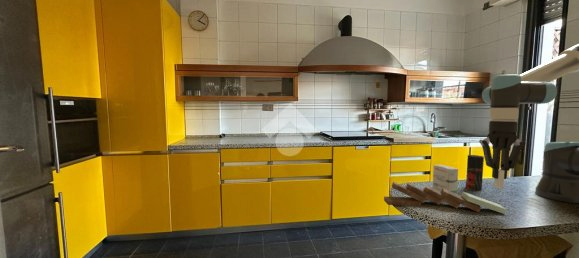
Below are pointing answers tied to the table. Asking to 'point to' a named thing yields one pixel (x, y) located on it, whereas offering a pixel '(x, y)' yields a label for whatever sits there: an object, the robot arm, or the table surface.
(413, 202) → the domino
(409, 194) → the domino
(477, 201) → the domino
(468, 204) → the domino
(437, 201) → the domino
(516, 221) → the table surface
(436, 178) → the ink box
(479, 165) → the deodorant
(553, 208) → the table surface
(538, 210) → the table surface
